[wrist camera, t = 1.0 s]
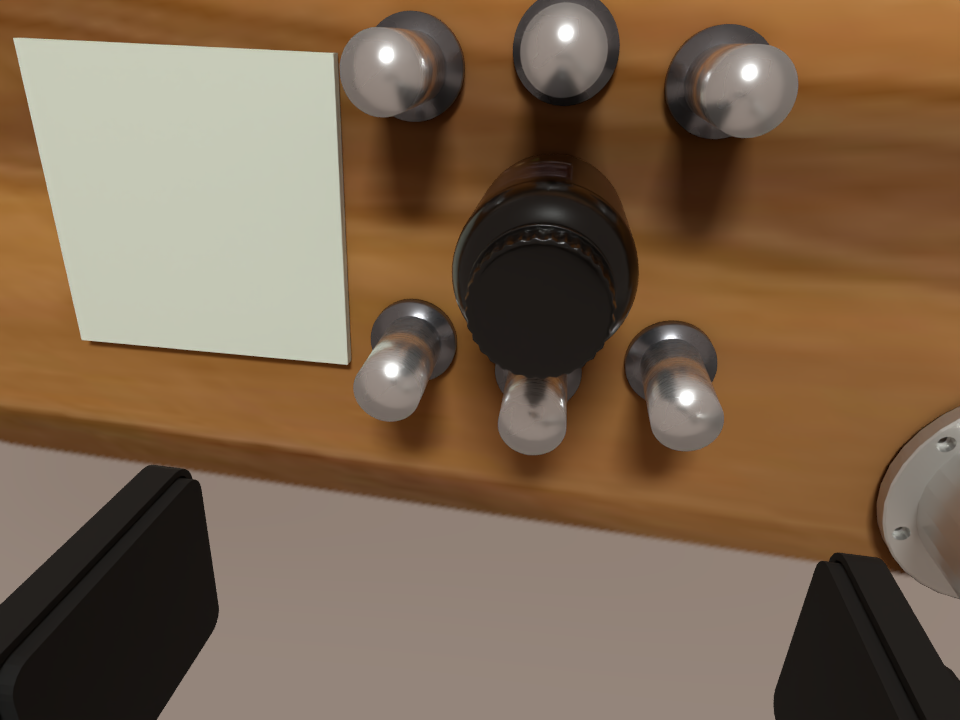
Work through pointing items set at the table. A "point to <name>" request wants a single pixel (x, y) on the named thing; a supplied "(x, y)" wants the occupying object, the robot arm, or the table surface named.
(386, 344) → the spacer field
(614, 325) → the supplement bottle
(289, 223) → the sage pad
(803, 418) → the table surface
